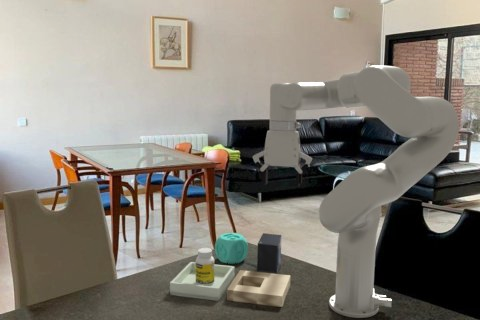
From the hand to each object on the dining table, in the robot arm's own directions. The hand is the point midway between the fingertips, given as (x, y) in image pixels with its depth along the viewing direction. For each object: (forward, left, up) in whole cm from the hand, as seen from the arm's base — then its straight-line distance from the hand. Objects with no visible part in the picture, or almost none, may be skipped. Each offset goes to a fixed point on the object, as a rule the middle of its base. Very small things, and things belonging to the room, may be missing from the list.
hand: (281, 185), depth 138 cm
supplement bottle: (+20, +12, -28) cm, 36 cm away
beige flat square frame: (+3, +12, -28) cm, 31 cm away
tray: (+20, +12, -28) cm, 37 cm away
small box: (+4, -4, -29) cm, 29 cm away
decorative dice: (+18, -10, -29) cm, 35 cm away
